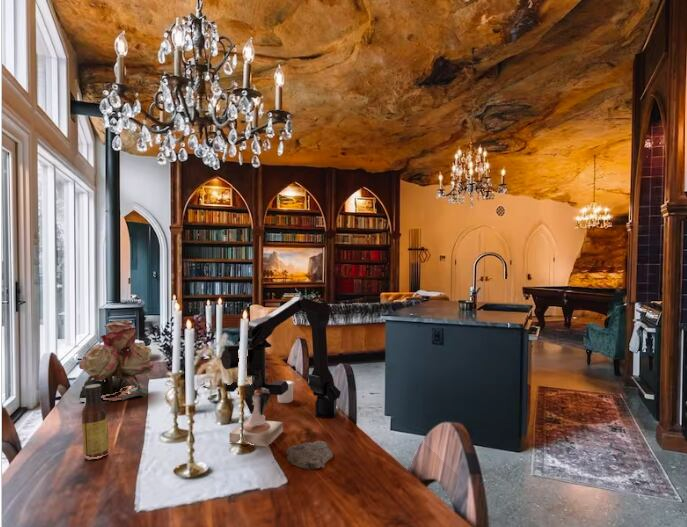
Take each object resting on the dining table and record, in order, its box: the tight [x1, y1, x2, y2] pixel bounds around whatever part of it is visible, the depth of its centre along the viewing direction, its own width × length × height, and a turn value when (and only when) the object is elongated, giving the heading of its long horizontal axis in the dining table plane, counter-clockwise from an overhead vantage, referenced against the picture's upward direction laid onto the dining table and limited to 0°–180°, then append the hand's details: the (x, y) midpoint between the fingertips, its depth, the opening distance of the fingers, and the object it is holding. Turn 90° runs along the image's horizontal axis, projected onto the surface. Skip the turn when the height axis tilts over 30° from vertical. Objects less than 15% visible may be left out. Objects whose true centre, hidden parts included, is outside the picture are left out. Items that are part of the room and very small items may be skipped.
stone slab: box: [285, 440, 334, 471], centre depth 126 cm, size 12×17×3 cm
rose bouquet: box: [78, 319, 155, 401], centre depth 187 cm, size 26×29×30 cm
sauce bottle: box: [81, 384, 110, 457], centre depth 128 cm, size 6×6×20 cm
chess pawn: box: [248, 392, 266, 426], centre depth 140 cm, size 5×5×9 cm
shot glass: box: [276, 380, 295, 404], centre depth 175 cm, size 7×7×7 cm
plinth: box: [229, 418, 284, 448], centre depth 140 cm, size 12×12×3 cm
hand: (256, 414), depth 140 cm, fingers closed on chess pawn, 3 cm apart
